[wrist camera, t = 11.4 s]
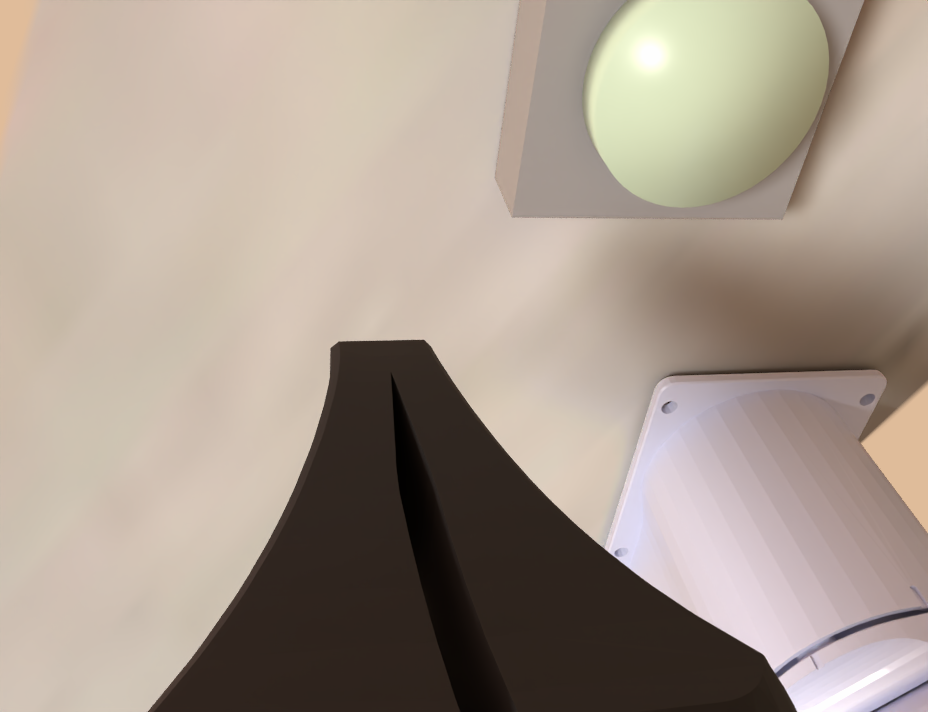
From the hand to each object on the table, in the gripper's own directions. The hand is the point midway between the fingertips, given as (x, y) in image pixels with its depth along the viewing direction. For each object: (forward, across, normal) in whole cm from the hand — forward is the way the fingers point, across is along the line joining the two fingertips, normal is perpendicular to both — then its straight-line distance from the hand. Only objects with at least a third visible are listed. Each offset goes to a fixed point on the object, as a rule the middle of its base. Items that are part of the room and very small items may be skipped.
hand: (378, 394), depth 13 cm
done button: (+9, -8, -2) cm, 12 cm away
